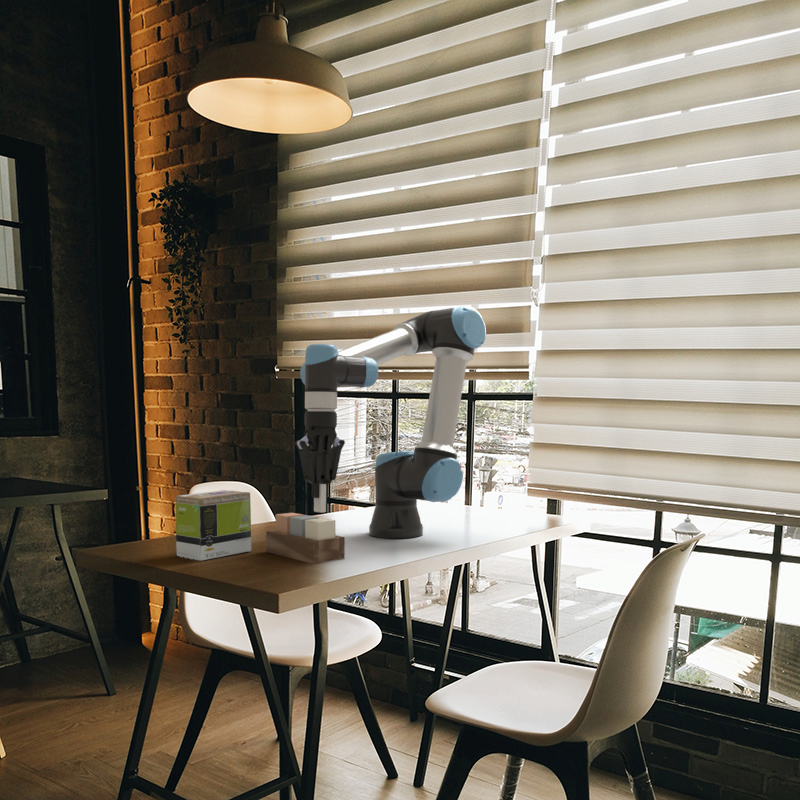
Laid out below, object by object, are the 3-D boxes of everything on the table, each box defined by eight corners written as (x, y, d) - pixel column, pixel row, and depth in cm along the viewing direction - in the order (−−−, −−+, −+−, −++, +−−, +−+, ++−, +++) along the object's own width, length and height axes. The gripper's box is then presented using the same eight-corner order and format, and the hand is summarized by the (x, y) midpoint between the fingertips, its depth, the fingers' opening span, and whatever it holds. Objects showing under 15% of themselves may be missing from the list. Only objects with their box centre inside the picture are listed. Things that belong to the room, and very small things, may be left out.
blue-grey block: (307, 538, 177) (307, 515, 177) (319, 540, 173) (319, 517, 173) (289, 540, 174) (290, 517, 174) (301, 543, 170) (302, 519, 170)
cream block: (322, 541, 172) (322, 517, 172) (335, 544, 169) (335, 520, 169) (305, 544, 169) (305, 520, 169) (317, 546, 165) (318, 522, 165)
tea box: (226, 547, 183) (226, 489, 184) (252, 552, 177) (252, 491, 177) (174, 556, 172) (175, 493, 172) (200, 562, 165) (200, 497, 165)
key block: (296, 547, 183) (297, 527, 184) (344, 558, 169) (344, 537, 169) (266, 551, 177) (266, 531, 177) (313, 563, 163) (313, 541, 163)
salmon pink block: (292, 535, 182) (292, 512, 182) (303, 537, 178) (304, 514, 178) (275, 537, 178) (275, 514, 178) (286, 539, 174) (286, 516, 175)
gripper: (333, 410, 177) (332, 508, 176) (288, 410, 168) (287, 512, 167) (352, 410, 171) (351, 511, 170) (307, 410, 162) (306, 515, 162)
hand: (319, 511), depth 169 cm, fingers closed
